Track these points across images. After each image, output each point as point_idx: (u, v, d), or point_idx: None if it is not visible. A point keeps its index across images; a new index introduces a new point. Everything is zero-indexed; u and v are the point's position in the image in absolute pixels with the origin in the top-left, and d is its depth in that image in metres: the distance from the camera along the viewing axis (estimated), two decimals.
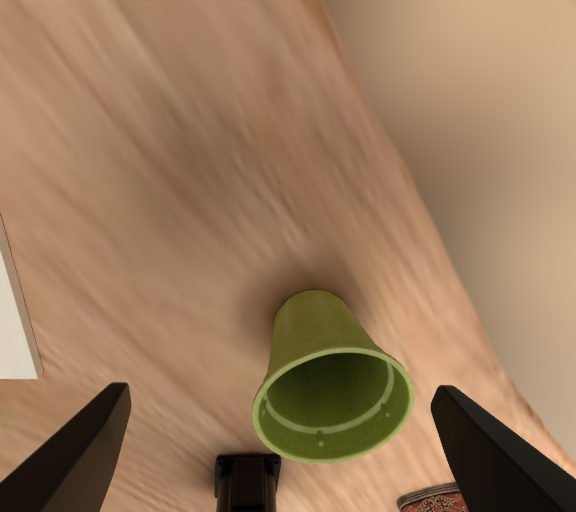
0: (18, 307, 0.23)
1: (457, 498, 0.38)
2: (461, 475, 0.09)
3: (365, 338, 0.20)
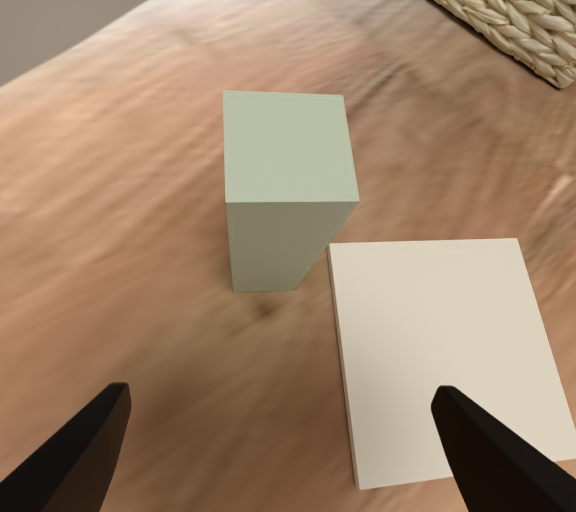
0: None
1: None
2: (461, 475, 0.09)
3: None
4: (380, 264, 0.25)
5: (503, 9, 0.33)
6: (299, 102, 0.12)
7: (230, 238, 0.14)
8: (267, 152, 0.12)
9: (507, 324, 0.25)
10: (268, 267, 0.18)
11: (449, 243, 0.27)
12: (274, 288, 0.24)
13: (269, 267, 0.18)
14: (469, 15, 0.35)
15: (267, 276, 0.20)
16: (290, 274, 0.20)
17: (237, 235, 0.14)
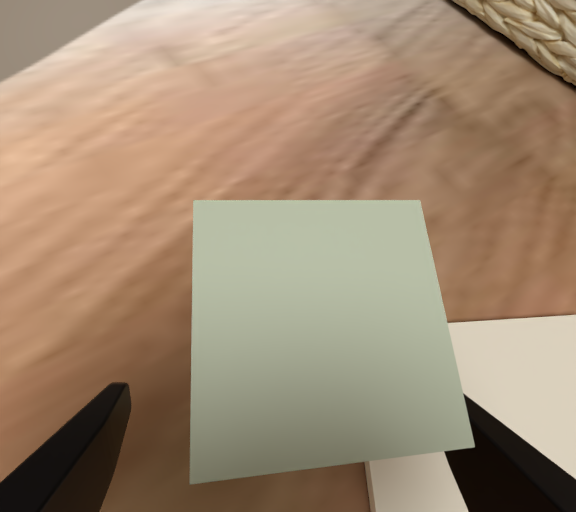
0: None
1: None
2: (461, 475, 0.09)
3: None
4: None
5: (555, 22, 0.27)
6: (341, 219, 0.06)
7: None
8: (282, 341, 0.06)
9: None
10: None
11: (504, 323, 0.21)
12: None
13: None
14: (511, 28, 0.29)
15: None
16: None
17: None
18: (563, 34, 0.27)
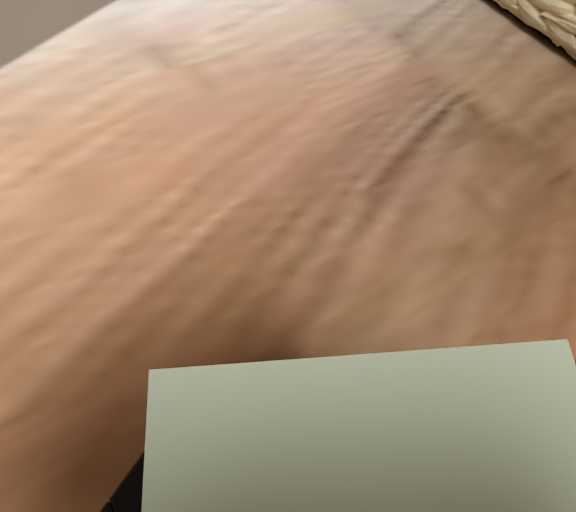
0: None
1: None
2: None
3: None
4: None
5: None
6: (435, 392, 0.03)
7: None
8: None
9: None
10: None
11: None
12: None
13: None
14: (548, 23, 0.26)
15: None
16: None
17: None
18: None
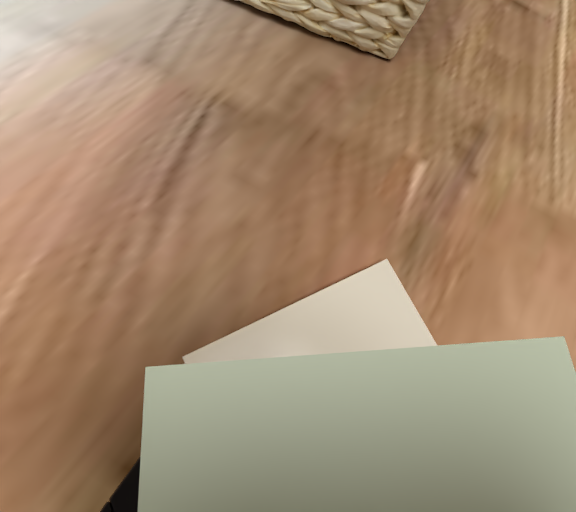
0: None
1: None
2: None
3: None
4: (248, 356, 0.22)
5: None
6: (431, 390, 0.03)
7: None
8: None
9: None
10: None
11: (317, 295, 0.24)
12: None
13: None
14: (270, 6, 0.31)
15: None
16: None
17: None
18: (311, 2, 0.29)
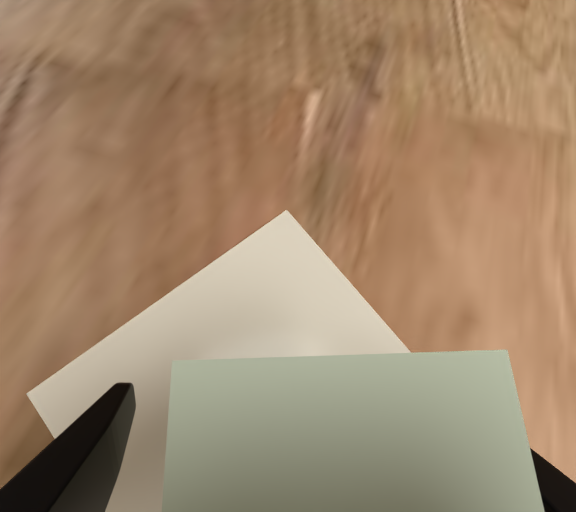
0: None
1: None
2: None
3: None
4: (121, 369, 0.16)
5: None
6: (395, 388, 0.04)
7: None
8: None
9: (324, 330, 0.18)
10: None
11: (205, 272, 0.19)
12: None
13: None
14: None
15: None
16: None
17: None
18: None
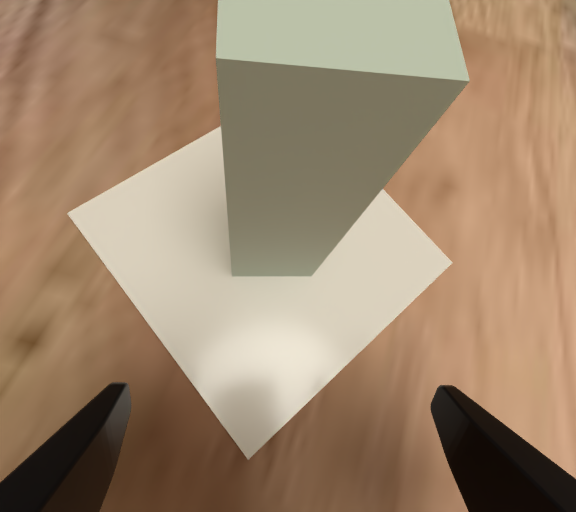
0: (346, 364, 0.18)
1: None
2: (461, 475, 0.09)
3: None
4: (146, 200, 0.19)
5: None
6: None
7: (227, 168, 0.08)
8: None
9: None
10: (280, 235, 0.13)
11: (216, 132, 0.21)
12: (285, 272, 0.18)
13: (283, 236, 0.13)
14: None
15: (278, 252, 0.15)
16: (310, 250, 0.15)
17: (238, 162, 0.08)
18: None
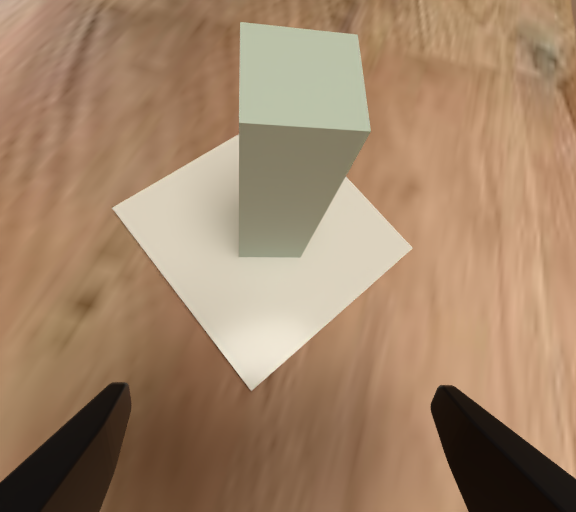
0: (326, 324, 0.24)
1: None
2: (461, 475, 0.09)
3: None
4: (172, 198, 0.25)
5: None
6: (314, 38, 0.13)
7: (240, 176, 0.14)
8: (282, 81, 0.12)
9: None
10: (275, 221, 0.18)
11: (226, 144, 0.27)
12: (279, 253, 0.24)
13: (276, 222, 0.19)
14: None
15: (273, 235, 0.20)
16: (296, 233, 0.20)
17: (247, 172, 0.14)
18: None
